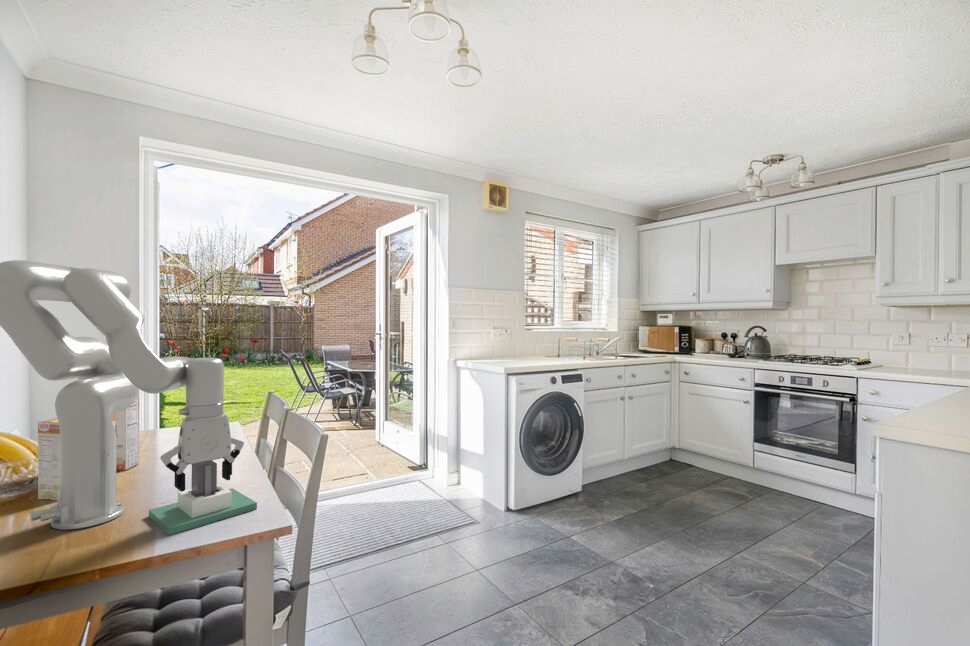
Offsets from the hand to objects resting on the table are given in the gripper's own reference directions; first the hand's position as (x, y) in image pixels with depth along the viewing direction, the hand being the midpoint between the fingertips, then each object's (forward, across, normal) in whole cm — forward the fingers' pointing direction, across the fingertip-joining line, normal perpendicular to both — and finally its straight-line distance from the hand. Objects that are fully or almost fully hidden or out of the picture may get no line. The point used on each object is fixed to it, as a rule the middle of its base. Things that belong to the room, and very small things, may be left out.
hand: (204, 484), depth 108 cm
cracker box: (+7, -7, +55) cm, 56 cm away
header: (+5, 0, 0) cm, 5 cm away
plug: (+5, 0, 0) cm, 5 cm away
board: (+7, 0, 0) cm, 7 cm away
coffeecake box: (+7, -16, +40) cm, 44 cm away
